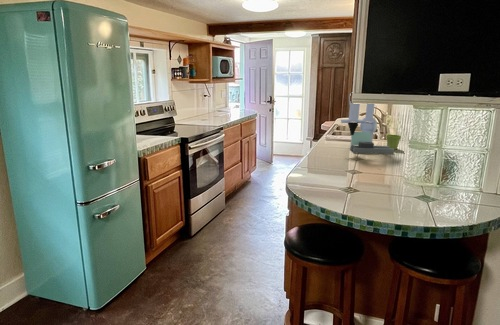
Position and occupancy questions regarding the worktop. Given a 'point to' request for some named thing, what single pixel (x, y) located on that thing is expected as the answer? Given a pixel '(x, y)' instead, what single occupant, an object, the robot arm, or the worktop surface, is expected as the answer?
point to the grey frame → (373, 149)
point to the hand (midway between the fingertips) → (352, 134)
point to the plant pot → (393, 140)
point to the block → (366, 145)
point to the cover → (360, 137)
